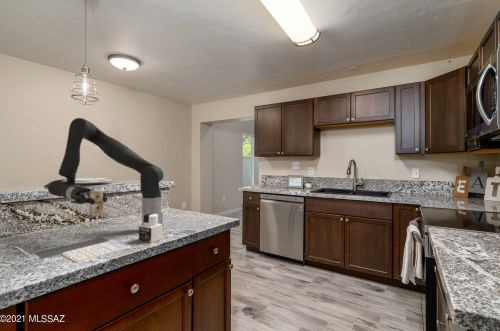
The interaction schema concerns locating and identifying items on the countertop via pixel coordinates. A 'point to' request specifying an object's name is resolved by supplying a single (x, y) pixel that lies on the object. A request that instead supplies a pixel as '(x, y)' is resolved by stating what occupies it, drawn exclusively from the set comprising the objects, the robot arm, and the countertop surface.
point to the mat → (69, 248)
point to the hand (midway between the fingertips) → (100, 200)
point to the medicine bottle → (150, 229)
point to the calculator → (94, 250)
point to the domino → (96, 201)
